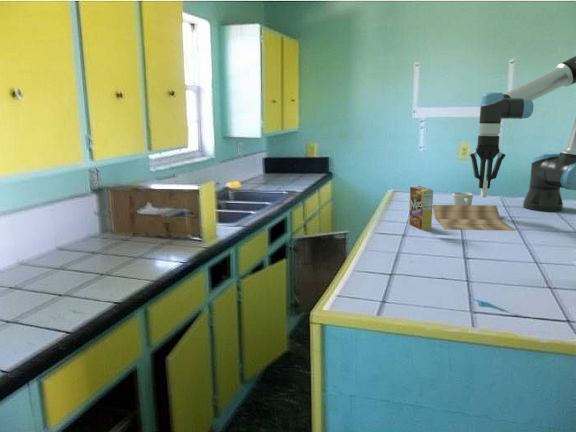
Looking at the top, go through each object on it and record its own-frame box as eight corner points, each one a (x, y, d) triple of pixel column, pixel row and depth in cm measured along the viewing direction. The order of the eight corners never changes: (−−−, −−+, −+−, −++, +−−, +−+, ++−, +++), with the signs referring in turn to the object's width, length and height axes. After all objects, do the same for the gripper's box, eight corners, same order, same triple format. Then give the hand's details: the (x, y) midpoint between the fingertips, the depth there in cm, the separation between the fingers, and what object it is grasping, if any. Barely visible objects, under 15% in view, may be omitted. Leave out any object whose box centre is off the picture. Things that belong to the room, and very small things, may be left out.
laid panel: (500, 222, 189) (501, 219, 188) (515, 233, 173) (515, 230, 173) (435, 222, 191) (435, 218, 191) (444, 232, 175) (444, 229, 175)
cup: (476, 216, 200) (478, 196, 198) (456, 216, 200) (458, 196, 198) (467, 210, 210) (469, 191, 208) (448, 210, 210) (450, 192, 208)
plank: (495, 207, 195) (496, 205, 194) (500, 222, 189) (500, 219, 189) (432, 207, 198) (432, 204, 197) (435, 221, 192) (435, 218, 191)
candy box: (407, 227, 183) (409, 186, 180) (418, 226, 184) (420, 185, 181) (420, 233, 175) (423, 190, 171) (431, 232, 176) (434, 189, 173)
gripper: (503, 134, 191) (498, 195, 196) (468, 134, 192) (463, 194, 198) (510, 135, 184) (504, 198, 189) (473, 135, 185) (468, 198, 190)
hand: (483, 196), depth 193 cm, fingers closed
